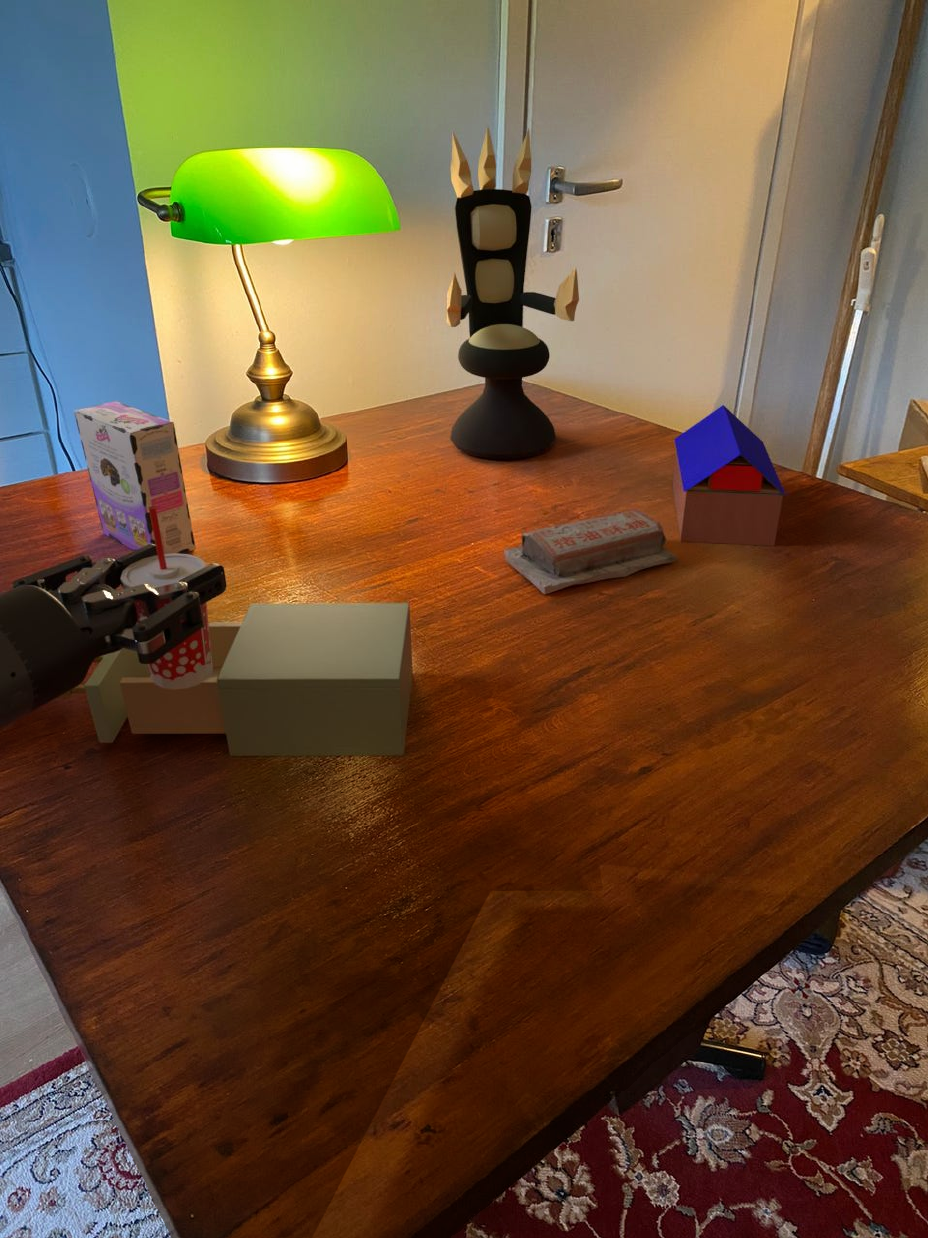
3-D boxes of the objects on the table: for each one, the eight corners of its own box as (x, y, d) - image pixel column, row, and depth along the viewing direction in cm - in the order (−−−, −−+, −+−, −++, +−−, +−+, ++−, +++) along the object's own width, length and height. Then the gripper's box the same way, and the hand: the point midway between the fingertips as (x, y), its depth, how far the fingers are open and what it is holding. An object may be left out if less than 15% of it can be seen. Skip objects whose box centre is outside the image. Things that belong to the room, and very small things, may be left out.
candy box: (198, 550, 113) (176, 420, 105) (155, 565, 109) (129, 432, 101) (141, 519, 121) (116, 397, 113) (100, 533, 117) (71, 408, 109)
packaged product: (630, 498, 113) (680, 527, 105) (627, 533, 115) (675, 565, 108) (502, 524, 106) (545, 558, 99) (502, 562, 109) (543, 597, 101)
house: (755, 487, 129) (768, 406, 123) (777, 547, 112) (793, 456, 106) (669, 483, 130) (678, 403, 124) (678, 542, 113) (688, 452, 107)
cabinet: (229, 756, 77) (216, 679, 73) (260, 673, 88) (250, 603, 84) (403, 755, 77) (399, 678, 73) (412, 672, 88) (409, 602, 84)
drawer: (50, 743, 77) (32, 685, 74) (98, 669, 87) (85, 615, 84) (258, 742, 77) (249, 685, 74) (283, 668, 87) (276, 615, 84)
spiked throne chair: (453, 469, 136) (447, 128, 114) (428, 424, 155) (418, 124, 133) (573, 459, 139) (590, 125, 117) (534, 416, 158) (543, 122, 136)
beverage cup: (175, 646, 75) (146, 486, 68) (238, 661, 73) (214, 498, 66) (125, 684, 70) (87, 516, 63) (190, 702, 68) (158, 530, 61)
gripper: (48, 646, 51) (254, 540, 64) (-96, 585, 58) (116, 500, 71) (77, 751, 55) (266, 632, 68) (-62, 683, 62) (134, 586, 74)
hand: (189, 565), depth 69 cm, fingers closed on beverage cup, 6 cm apart
